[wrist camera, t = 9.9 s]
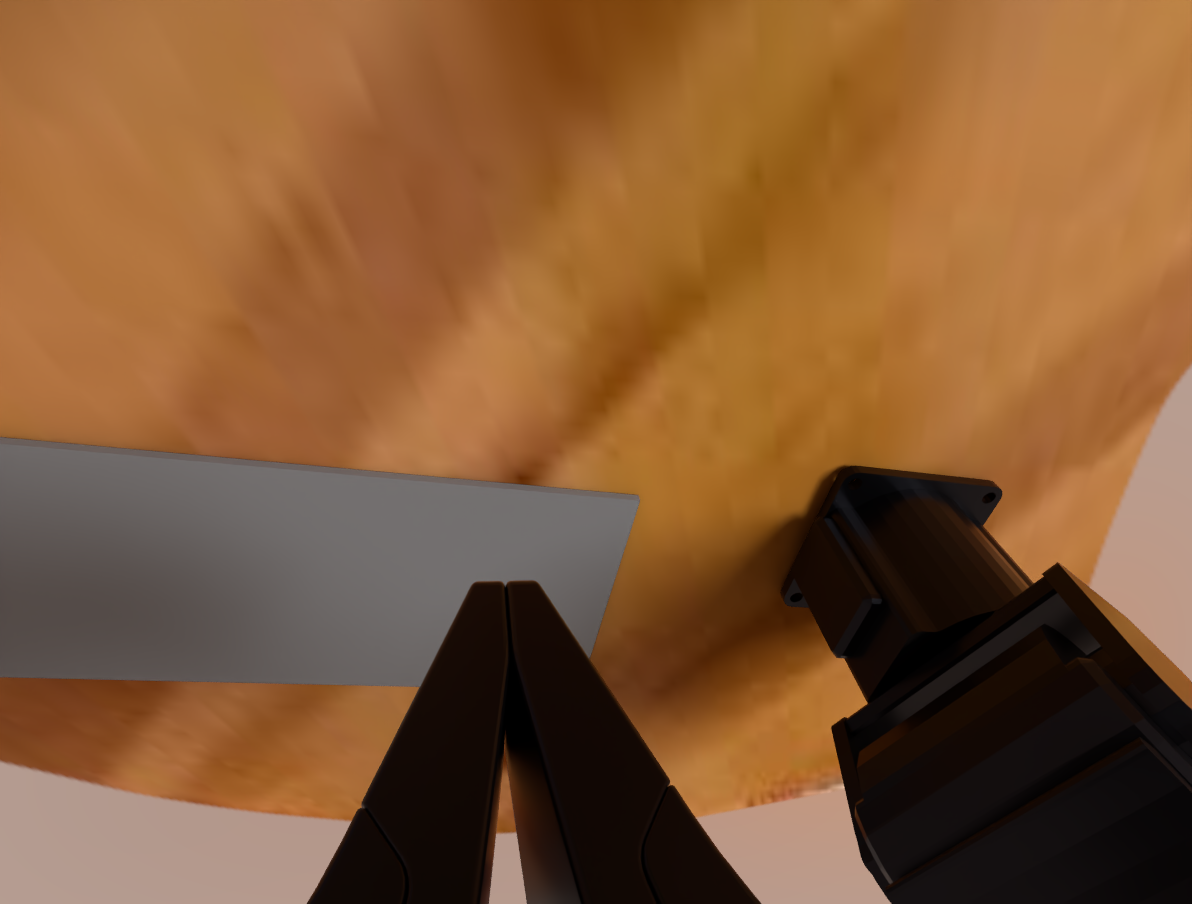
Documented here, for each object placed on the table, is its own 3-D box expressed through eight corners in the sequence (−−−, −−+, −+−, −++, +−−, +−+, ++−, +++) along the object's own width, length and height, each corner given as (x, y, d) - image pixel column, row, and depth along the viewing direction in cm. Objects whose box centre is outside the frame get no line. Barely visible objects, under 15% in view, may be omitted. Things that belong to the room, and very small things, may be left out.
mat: (638, 495, 24) (639, 500, 24) (578, 684, 30) (579, 690, 29) (-440, 397, 18) (-453, 403, 17) (-266, 663, 23) (-275, 670, 23)
